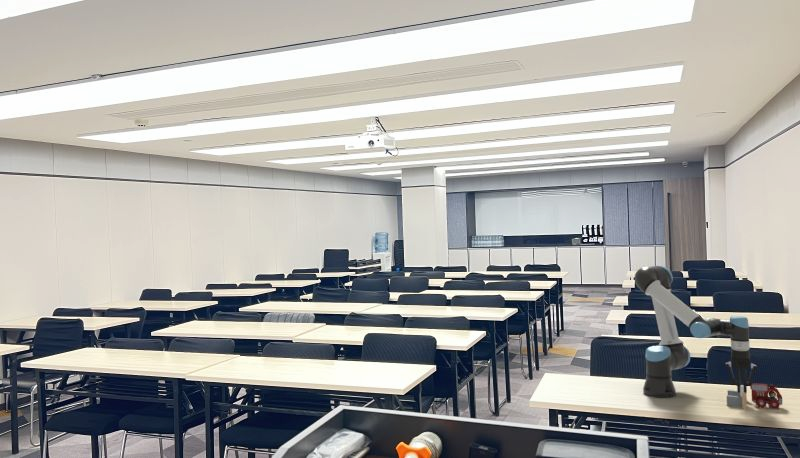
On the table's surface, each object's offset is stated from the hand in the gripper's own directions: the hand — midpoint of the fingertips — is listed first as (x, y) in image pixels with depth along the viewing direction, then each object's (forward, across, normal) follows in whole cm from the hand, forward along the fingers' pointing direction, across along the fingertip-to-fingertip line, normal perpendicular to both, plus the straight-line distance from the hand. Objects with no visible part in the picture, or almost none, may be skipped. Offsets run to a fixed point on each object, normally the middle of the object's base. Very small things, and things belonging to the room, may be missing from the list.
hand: (742, 399), depth 266 cm
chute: (+2, -3, 0) cm, 3 cm away
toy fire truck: (+2, +10, 0) cm, 10 cm away
